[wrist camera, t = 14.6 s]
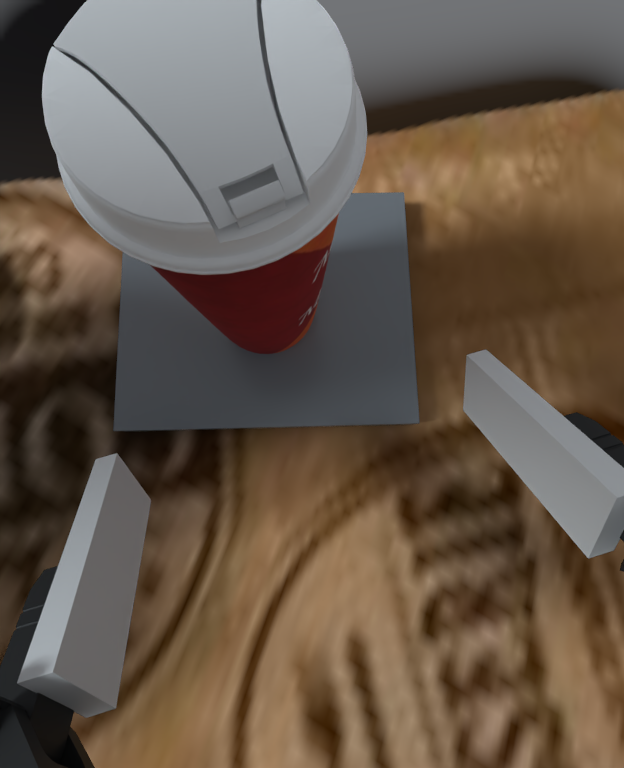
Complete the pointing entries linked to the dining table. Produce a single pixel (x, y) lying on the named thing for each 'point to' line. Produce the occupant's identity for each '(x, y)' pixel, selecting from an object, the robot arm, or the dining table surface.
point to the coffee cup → (212, 148)
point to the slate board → (287, 368)
